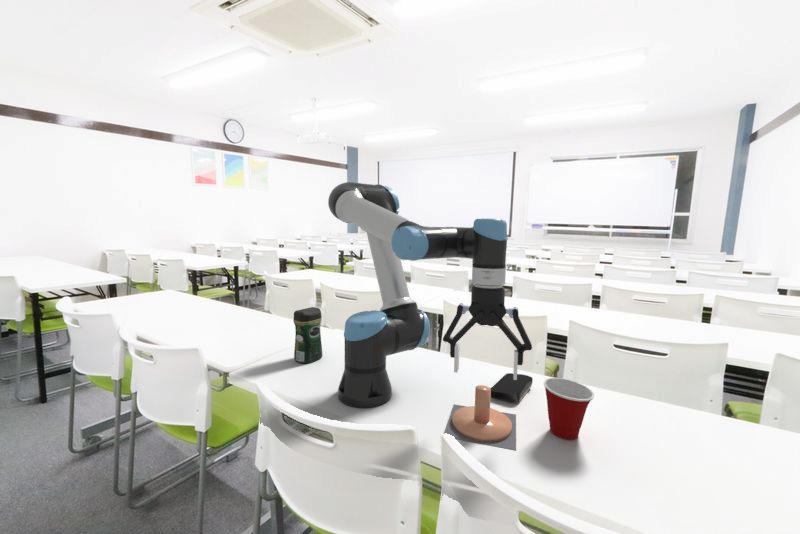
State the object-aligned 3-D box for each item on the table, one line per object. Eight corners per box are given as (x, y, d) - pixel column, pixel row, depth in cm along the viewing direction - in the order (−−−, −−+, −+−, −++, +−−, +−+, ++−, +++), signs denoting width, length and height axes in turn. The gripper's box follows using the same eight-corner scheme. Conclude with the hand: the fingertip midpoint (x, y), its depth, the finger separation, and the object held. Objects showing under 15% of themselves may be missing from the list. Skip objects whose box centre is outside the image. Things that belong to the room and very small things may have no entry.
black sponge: (517, 408, 99) (518, 395, 98) (487, 400, 103) (488, 387, 103) (533, 387, 112) (534, 376, 112) (506, 380, 117) (507, 369, 116)
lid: (447, 434, 84) (449, 396, 83) (456, 406, 97) (458, 373, 96) (511, 446, 80) (513, 406, 79) (511, 415, 93) (513, 381, 92)
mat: (442, 438, 84) (442, 436, 84) (453, 406, 99) (453, 404, 99) (515, 452, 79) (516, 450, 79) (515, 416, 94) (515, 414, 94)
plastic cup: (593, 454, 79) (597, 401, 78) (539, 442, 83) (542, 391, 82) (588, 428, 89) (592, 381, 88) (540, 419, 93) (543, 373, 92)
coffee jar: (311, 353, 137) (310, 304, 135) (325, 357, 133) (325, 307, 131) (289, 360, 129) (289, 309, 127) (304, 365, 125) (304, 312, 123)
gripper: (432, 284, 85) (430, 373, 87) (547, 291, 78) (542, 387, 80) (438, 280, 92) (436, 362, 94) (544, 286, 85) (540, 374, 87)
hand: (485, 374), depth 87 cm, fingers open, 13 cm apart
